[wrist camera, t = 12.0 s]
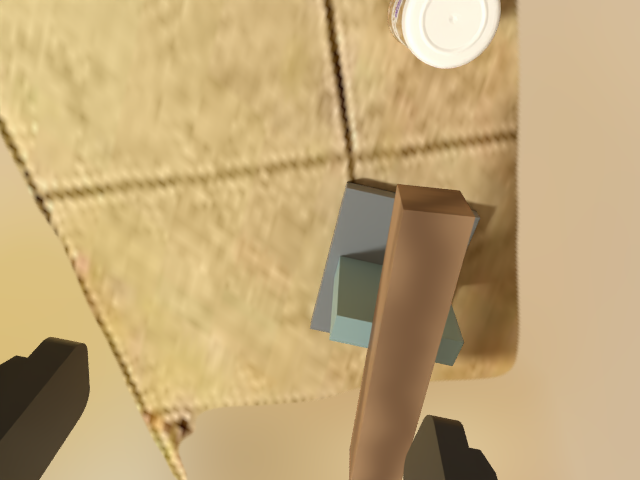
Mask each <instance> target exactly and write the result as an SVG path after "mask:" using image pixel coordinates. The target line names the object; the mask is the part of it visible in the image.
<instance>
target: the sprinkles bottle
mask: <svg viewBox="0 0 640 480" xmlns="http://www.w3.org/2000/svg"><path fill="white" fill-rule="evenodd" d="M500 15H501V2H500V0H391V2H390V5H389V8H388V24H389V29H390V31H391V33H392V34H393V36H394V37H395V39H397V40H398V41H399V42H400V43H401V44H404V45H405V46H406V47H407V48H409V49H410V50H411V52H412V53H413V54H414V55H415V56H416V57H417V58H418V59H420V60H421V61H423V62H424V63H426V64H428V65H430V66H433V67H437V68H446V69H447V68H455V67H459V66H462V65H465V64H467V63H469V62H471V61H472V60H474V59H475V58H477V57H478V56H479V55H480V54H481V53H482V52H483V51H484V50H485V49H486V48H487V47H488V45H489V44H490V42H491V41H492V39H493V38H494V36H495V33H496V31H497V28H498V25H499V21H500Z"/></svg>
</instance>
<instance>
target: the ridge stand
mask: <svg viewBox="0 0 640 480" xmlns="http://www.w3.org/2000/svg"><path fill="white" fill-rule="evenodd" d="M395 194H396V193H394V192H390V191H386V190H381V189H377V188H372V187H368V186H363V185H359V184H355V183H350V182H347V184H346V188H345V192H344V196H343V199H342V203H341V207H340V211H339V215H338V219H337V223H336V227H335V231H334V234H333V238H332V242H331V246H330V250H329V254H328V258H327V262H326V266H325V269H324V273H323V277H322V281H321V285H320V289H319V293H318V297H317V301H316V304H315V308H314V312H313V316H312V320H311V328H310V329H314V330H319V331H324V332H328V333H330V340H332V341H337V342H341V343H346V344H351V345H356V346H360V347H365V348H368V344H369V339H370V333H371V328H372V322H373V316H374V311H375V305H376V300H377V294H378V289H379V283H380V277H381V272H382V266H383V261H384V255H385V250H386V244H387V238H388V233H389V227H390V222H391V216H392V211H393V205H394V199H395ZM471 211H472V212H473V214H474V216H475V220H474V224H473V228H472V231H471V235H470V238H469V242H468V245H469V243H470V241H471V238H472V236H473V234H474V231H475V229H476V227H477V224H478V222H479V220H480V217H479V215H478V214H477V212H476V211H474V210H471ZM468 245H467V247H468ZM466 250H467V249H466ZM463 344H464V341H463V338H462V335H461V332H460V329H459V326H458V323H457V320H456V317H455V314H454V311H453V308H452V305H451V306H450V310H449V313H448V317H447V320H446V324H445V327H444V331H443V335H442V338H441V342H440V345H439V349H438V352H437V356H436V360H435V362H436V363H440V364H445V365H450V366H453V364H454V362H455V360H456V358H457V356H458V354H459V352H460V350H461V348H462V346H463Z"/></svg>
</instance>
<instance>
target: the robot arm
mask: <svg viewBox="0 0 640 480" xmlns="http://www.w3.org/2000/svg"><path fill="white" fill-rule="evenodd" d="M89 391H90V385H89V369H88V351H87V346H86V345H85V344H83V343H79V342H74V341H69V340H64V339H59V338H54V337H49V338H47V339H45V340H44V341H43V342H42V343H41V344H40V345H39V346H38V347H37V348H36V349H35V350H34V351H33V353H32V354H31V355H30V356H29V357H28V358H26V357H21V356H15V357H13V358H11V359H10V360H8V361H6V362H5V363H3V364H1V365H0V480H39V479H40V478H41V476H42V475H43V473H44V472H45V470H46V469H47V467H48V466H49V464H50V462H51V461H52V459H53V458H54V456H55V455H56V453H57V452H58V450H59V449H60V447H61V446H62V444H63V443H64V441H65V440H66V438H67V437H68V435H69V433H70V432H71V430H72V429H73V428H74V426H75V425H76V423H77V421H78V420H79V418H80V417H81V415H82V413H83V411H84V409H85V407H86V404H87V401H88V397H89ZM403 476H404V477H403V479H404V480H498V479H497V476H496V473H495V471H494V470H493V468H492V467H491V465H490V464H489V462H488V461H487V459H486V458H485V456H484V455H483V453H482V452H481V450H478V449H473V448H469V446H468V442H467V439H466V435H465V431H464V428H463V425H462V424H461V422H459V421H457V420H451V419H447V418H442V417H437V416H432V415H427V416H426V417H425V418H424V420H423V422H422V424H421V426H420V428H419V430H418V432H417V434H416V436H415V438H414V440H413V442H412V444H411V446H410V448H409V450H408V453H407V455H406V458H405V463H404V472H403Z"/></svg>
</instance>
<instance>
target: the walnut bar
mask: <svg viewBox="0 0 640 480" xmlns="http://www.w3.org/2000/svg"><path fill="white" fill-rule="evenodd" d="M474 220H475V216H474V214H473V212H472V211H471V209H470V207H469V205H468V204H467V202H466V200H465V198H464V197H463V195H462V193H461V192H460V191H458V190H448V189H439V188H429V187H420V186H410V185H401V184H397V188H396V194H395V199H394V205H393V211H392V216H391V222H390V227H389V233H388V238H387V244H386V250H385V255H384V261H383V266H382V272H381V277H380V283H379V289H378V294H377V300H376V305H375V311H374V316H373V322H372V328H371V333H370V339H369V344H368V350H367V355H366V361H365V367H364V372H363V378H362V383H361V389H360V395H359V400H358V406H357V411H356V418H355V422H354V428H353V433H352V439H351V445H350V461H349V462H350V463H349V465H350V466H349V468H350V469H349V480H402V477H403V472H404V463H405V458H406V455H407V453H408V450H409V448H410V446H411V444H412V442H413V438H414V434H415V431H416V427H417V424H418V420H419V417H420V413H421V409H422V406H423V402H424V399H425V395H426V391H427V388H428V384H429V381H430V377H431V374H432V370H433V367H434V363H435V360H436V356H437V352H438V349H439V345H440V342H441V338H442V335H443V331H444V327H445V324H446V320H447V317H448V313H449V310H450V306H451V302H452V299H453V295H454V292H455V288H456V285H457V281H458V277H459V274H460V270H461V267H462V263H463V260H464V256H465V253H466V249H467V245H468V242H469V238H470V235H471V231H472V228H473V224H474Z"/></svg>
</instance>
